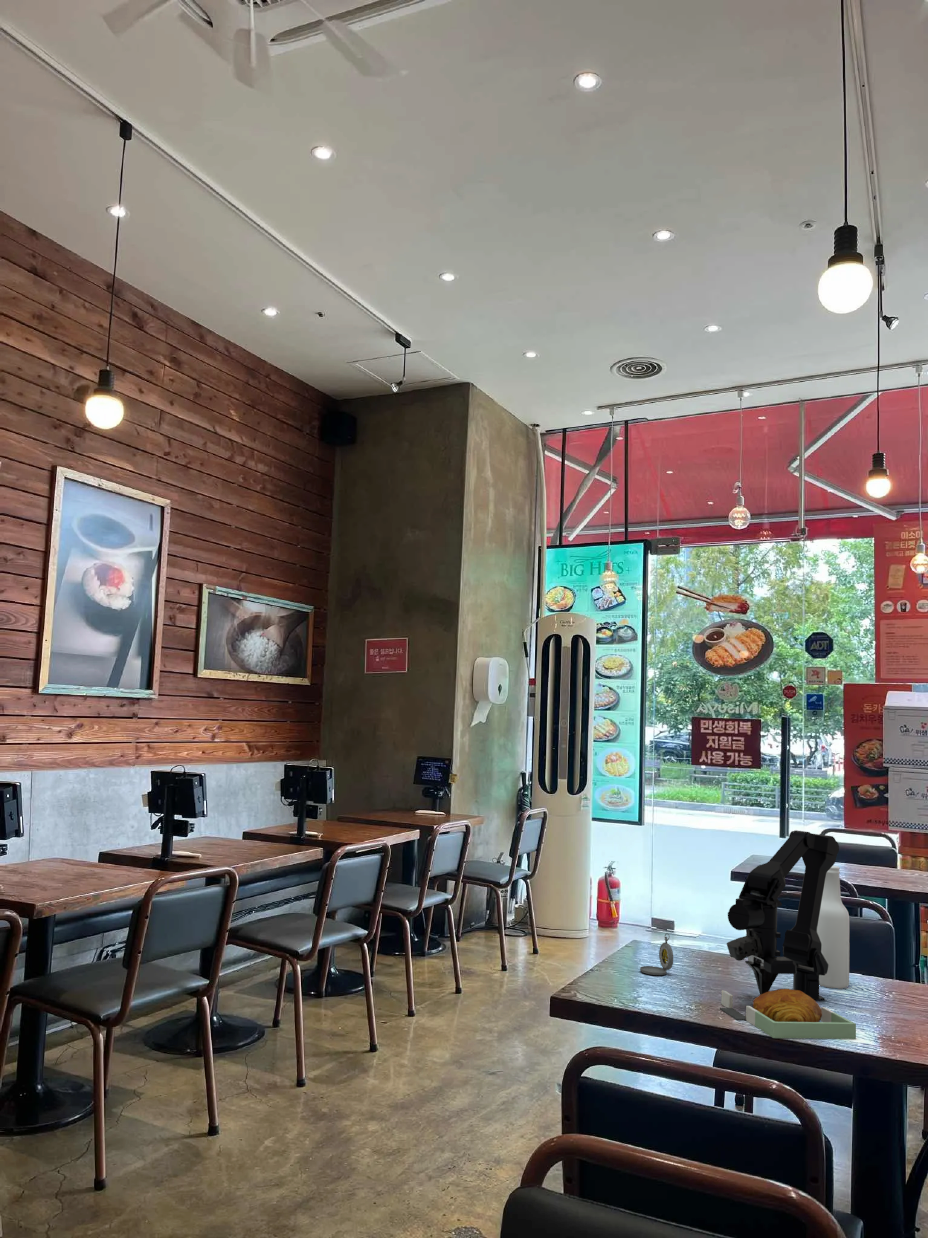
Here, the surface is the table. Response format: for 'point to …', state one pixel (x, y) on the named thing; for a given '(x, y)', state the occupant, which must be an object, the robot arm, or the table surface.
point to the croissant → (788, 1006)
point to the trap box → (794, 1023)
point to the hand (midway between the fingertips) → (763, 996)
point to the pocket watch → (661, 960)
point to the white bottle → (834, 933)
